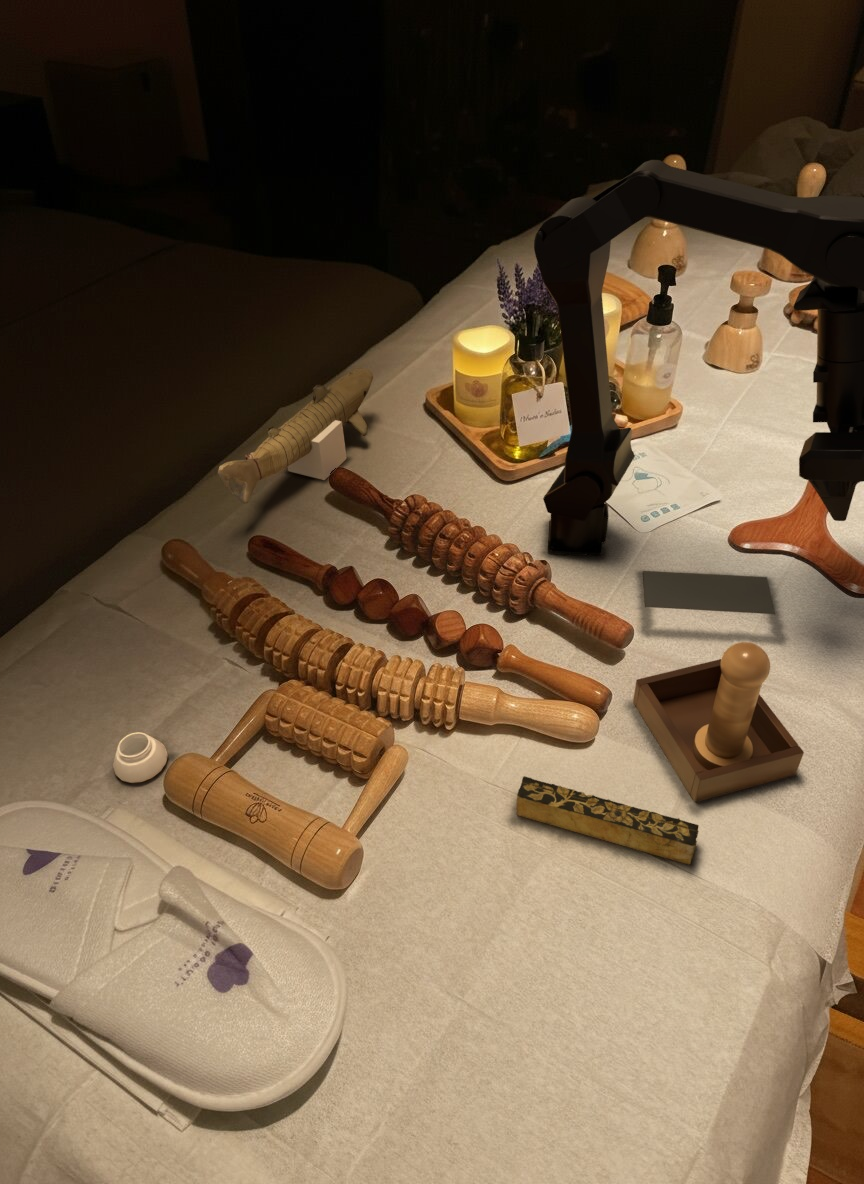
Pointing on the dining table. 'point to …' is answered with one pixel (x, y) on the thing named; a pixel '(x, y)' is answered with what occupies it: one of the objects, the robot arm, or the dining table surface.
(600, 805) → the decorative block
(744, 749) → the wooden pestle
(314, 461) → the wood carving
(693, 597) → the mat
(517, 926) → the dining table surface
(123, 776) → the lidless jar
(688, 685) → the box
